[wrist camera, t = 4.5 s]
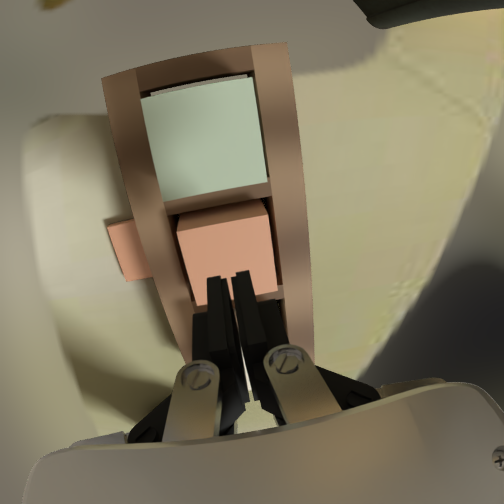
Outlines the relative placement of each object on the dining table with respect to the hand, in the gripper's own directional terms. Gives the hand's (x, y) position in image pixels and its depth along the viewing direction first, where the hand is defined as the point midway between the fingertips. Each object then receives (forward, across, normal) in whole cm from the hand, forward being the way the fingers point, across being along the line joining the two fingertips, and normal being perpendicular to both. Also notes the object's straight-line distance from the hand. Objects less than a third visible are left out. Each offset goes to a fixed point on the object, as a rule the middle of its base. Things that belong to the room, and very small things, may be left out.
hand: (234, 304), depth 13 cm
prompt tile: (+8, +6, +1) cm, 10 cm away
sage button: (+7, 0, -6) cm, 9 cm away
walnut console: (+8, 0, +1) cm, 8 cm away
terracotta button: (+8, 0, +1) cm, 8 cm away
